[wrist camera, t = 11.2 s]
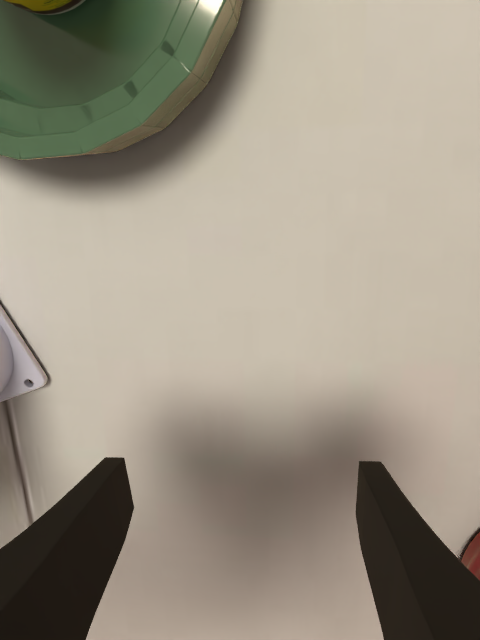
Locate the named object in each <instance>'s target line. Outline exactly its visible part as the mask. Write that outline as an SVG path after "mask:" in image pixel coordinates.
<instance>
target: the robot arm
mask: <svg viewBox="0 0 480 640" xmlns="http://www.w3.org/2000/svg"><path fill="white" fill-rule="evenodd" d="M28 379H29V380H31V381H32V382H33V384H32V383H30V382H29V381H28ZM46 383H47V376H46V374H45V372H44V371H43V369H42V368H41V366H40V365H39V363H38V362H37V360H36V358H35V357H34V355H33V354H32V352H31V351H30V349H29V348H28V346H27V345H26V343H25V342H24V340H23V339H22V337H21V335H20V334H19V332H18V331H17V329H16V328H15V326H14V325H13V323H12V322H11V320H10V319H9V317H8V316H7V314H6V312H5V311H4V309H3V308H2V306H1V305H0V402H2V401H5V400H8V399H11V398H13V397H16V396H19V395H22V394H24V393H27V392H30V391H33V390H35V389H38V388H41V387H43V386H44V385H45V384H46ZM133 509H134V505H133V500H132V495H131V490H130V485H129V480H128V475H127V469H126V464H125V459H124V458H107V457H106V458H104V459H103V460H102V461H101V462H100V463H99V464H98V465H97V466H96V467H95V468H94V469H93V470H92V471H91V472H89V473H88V474H87V475H86V476H85V477H84V478H83V479H82V480H81V481H80V482H79V483H78V484H77V485H76V486H75V487H74V488H73V489H72V490H70V491H69V492H68V493H67V494H66V495H65V496H64V497H63V498H62V499H61V500H60V501H58V502H57V503H56V504H55V505H54V506H53V507H52V508H51V509H49V510H48V511H47V512H46V513H45V514H44V515H42V516H41V517H40V518H39V519H38V520H36V521H35V522H34V523H33V524H32V525H31V526H29V527H28V528H27V529H26V530H25V531H23V532H22V533H21V534H20V535H18V536H17V537H16V538H14V539H13V540H12V541H11V542H9V543H8V544H7V545H5V546H4V547H2V548H1V549H0V640H86V637H87V634H88V631H89V628H90V626H91V623H92V620H93V618H94V615H95V612H96V610H97V608H98V605H99V603H100V600H101V598H102V595H103V593H104V591H105V588H106V586H107V583H108V581H109V578H110V576H111V574H112V571H113V569H114V566H115V564H116V561H117V559H118V556H119V554H120V551H121V549H122V546H123V544H124V541H125V538H126V535H127V531H128V528H129V524H130V521H131V517H132V513H133ZM356 518H357V525H358V532H359V539H360V545H361V550H362V554H363V558H364V562H365V566H366V570H367V574H368V578H369V582H370V586H371V589H372V593H373V597H374V601H375V605H376V609H377V613H378V616H379V620H380V624H381V628H382V632H383V637H384V640H480V580H479V579H478V578H477V577H476V576H475V575H474V574H473V573H472V572H471V571H470V570H469V569H468V568H467V567H466V566H465V565H464V564H463V563H462V562H461V561H460V560H459V559H458V558H457V557H456V556H455V555H454V554H453V553H452V552H451V551H450V550H449V549H448V548H447V546H446V545H445V544H444V543H443V542H442V541H441V540H440V538H439V537H438V536H437V535H436V534H435V533H434V532H433V530H432V529H431V528H430V527H429V526H428V524H427V523H426V522H425V521H424V520H423V518H422V517H421V516H420V515H419V513H418V512H417V511H416V510H415V508H414V507H413V506H412V504H411V503H410V502H409V500H408V499H407V498H406V496H405V495H404V494H403V492H402V491H401V490H400V488H399V487H398V485H397V484H396V483H395V481H394V480H393V478H392V477H391V475H390V474H389V472H388V471H387V469H386V468H385V466H384V465H383V464H382V463H381V462H375V461H359V471H358V486H357V502H356Z"/></svg>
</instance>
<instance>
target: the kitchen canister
mask: <svg viewBox="0 0 480 640" xmlns="http://www.w3.org/2000/svg"><path fill="white" fill-rule="evenodd" d="M461 562H462V563H463V564H464V565H465V566H466V567H467V568H468V569H469V570H470V571H471V572H472V573H473V574H474V575H475V576H476V577H477V578H478V579H479V580H480V532H479V533H478V534H477V535H476V536H475V538H474V539H473V540H472V541H471V543H470V544H469V546H468V547H467V549H466V551H465V553H464V555H463V558H462V560H461Z"/></svg>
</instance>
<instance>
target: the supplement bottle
mask: <svg viewBox="0 0 480 640" xmlns="http://www.w3.org/2000/svg"><path fill="white" fill-rule="evenodd" d="M4 1H6V2H8V3H10V4H12V5H14V6H16V7H19V8H21V9H23V10H26V11H29V12H32V13H35V14H42V15H55V14H61V13H64V12H67V11H70V10H72V9H74V8H76V7H77V6H79V5H80V4H82V3H83V2H84V1H85V0H4Z"/></svg>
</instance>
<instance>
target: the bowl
mask: <svg viewBox="0 0 480 640" xmlns="http://www.w3.org/2000/svg"><path fill="white" fill-rule="evenodd" d="M242 1H243V0H85V1H84V2H83V3H82V4H80V5H79V6H77V7H76V8H74V9H72V10H70V11H67V12H64V13H61V14H55V15H42V14H35V13H32V12H29V11H26V10H23V9H21V8H19V7H16V6H14V5H12V4H10V3H8V2H6V1H4V0H0V155H1V156H5V157H9V158H13V159H17V160H32V159H44V158H56V157H68V156H79V155H89V154H100V153H111V152H116V151H120V150H122V149H124V148H126V147H128V146H130V145H132V144H134V143H136V142H138V141H140V140H142V139H144V138H146V137H148V136H150V135H152V134H154V133H157V132H159V131H161V130H163V129H165V127H167V126H168V125H169V124H170V123H171V122H172V121H173V120H174V119H175V118H176V117H177V116H178V115H179V114H180V113H181V112H182V111H183V110H184V109H185V108H186V107H187V106H188V105H189V103H190V102H191V101H192V100H193V99H194V98H195V97H196V96H197V95H198V94H199V93H200V92H201V91H202V90H203V89H204V88H205V87H206V86H207V83H209V81H210V79H211V77H212V75H213V73H214V71H215V69H216V67H217V65H218V63H219V61H220V59H221V57H222V55H223V53H224V51H225V49H226V47H227V45H228V43H229V41H230V39H231V37H232V34H233V32H234V30H235V28H236V26H237V22H238V21H239V17H240V12H241V6H242Z"/></svg>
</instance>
